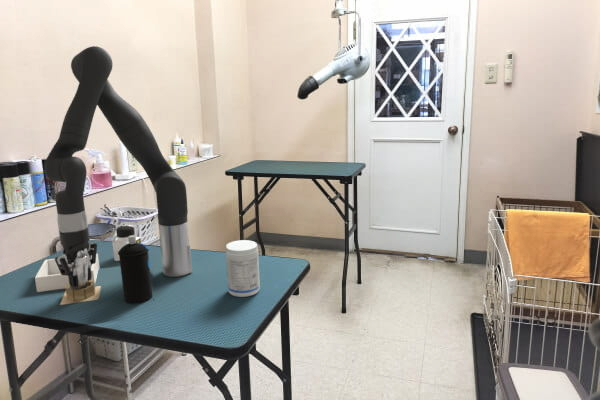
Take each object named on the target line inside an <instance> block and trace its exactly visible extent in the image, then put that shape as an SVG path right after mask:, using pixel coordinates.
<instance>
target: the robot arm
mask: <svg viewBox="0 0 600 400" xmlns="http://www.w3.org/2000/svg"><path fill="white" fill-rule="evenodd" d="M70 69H71V72H72V74H73V76H74V77H75V79H76V80H77V81H78V86H77V89H76V92H75V94H74V97H73V98H72V100H71V103H70V105H69V106H68V108H67V111H66V112H65V115H64V118H63V121H62V125H61V128H60V132H59V136H58V139H57V141H56V142H55V144H54V145H53V147H52V148H51V150H50V152H49V153H48V155H47V157H46V159H45V161H44V173H45V174H44V175H45V176H46V177H47V178H48V179H49V180H50V181H51V182H58V183H59V182H61V183H65V188H64V190H63V189H62V190H60V191H58V192H56V194H55V197H54V198H55V205H56V206H55V207H56V215H57V218H56V219H57V227H58V234H59V235H58V236H59V241H60V245H61V246H62V248H63V250H62V254H61V255H60V256H56V257H55V258H54V259H55V262H56V264H57V266H58V268H59V271H60V273H61V275H65V276H68V278H69V285H70V286H71V287H74V288H77V287H78V278H77V275H76V272H77V267H78V266H79V265H78V261H77V259H78V258H79V257H80V254H81V253H80V251H79V250H83V251H84V252H85V255H88V281H89V280H91V277H92V274H91V267H92V264H95V262H96V254H98V253H97V251H98V244H97V243H96V242H95V243H93V242H90V237H91V236H90V231H89V223H88V217H87V212H86V207H85V200H84V193H85V187H86V181H87V173H88V171H87V167H86V164H85V163H84V161H83V159H81V158H80V157H77V156H74V154H75V153H78V152H81V151H83V150H85V148H86V147H87V143H88V140H89V136H90V131H91V128H92V123H93V120H94V117H95V113H96V109H97V107H98V108H99V110H100V111H101V113H102V114H103V116H104V118H105V119H106V121H107V122H108V123H109V125H110V126H111V128H112V129H113V130H112V131H114V133H115V134H116V136H117V138H118V139H119V141H120V142H121V143H122V145H123V146H124V147H125V149H126V150H127V151H128V152H129V153H130V155H131V156H132V157H133V158H134V159H135V160H136V161H137V163H139V164H140V166H141V167H142V169H143V170H144V171H145V173H146V175H147V176H148V179H149V180H150V182H151V185H152V186H153V189H154V192H155V196H156V206H157V222H158V223H157V224H158V232H159V243H160V252H161V263H162V264H161V265H162V266H161V267H162V274H163V275H164V276H166V277H172V278H173V277H175V278H176V277H182V276H183V277H184V276H186V275H189V274H192V273H193V265H192V253H191V252H192V251H191V244H190V236H189V223H188V211H189V210H188V198H187V196H188V195H187V194H188V193H187V187H186V183H185V182H184V180H183V179H182V177H181V176H179V174H178V173H177V172H176V171H175V170H174V168H173V167H172V166H171V165H170V164H169V162H168V161H167V160H166V158H165V156H164V155H163V154H162V151H161V150H160V147H159V145H158V142H157V140H156V138H155V136H154V134H153V133H152V131H151V129H150V128H149V125H148V124H147V122H146V120H144V118H143V115H141V113H140V112H139V111H138V110H137V109H136V108H135V107H134V106H132V105H131V104H130V103H129V102H127V101H126V100H125V99H123V97H121V96H120V95H119V94H118V93H117V91H116V90H115V89H114V87H113V86H112V84H111V83H110V81H109V80H108V79H109V78H110V74H111V72H112V70H113V59H112V56H111V55H110V53H109V52H108V51H107V50H105V49H104V48H103V47H100V46H95V45H93V46H92V45H91V46H89V47H86V48H84V49H83V50H81V51H80V52H78V53H76V54H75V55H74V57H73V58H72V60H71V61H70ZM91 255H92V259H91ZM71 262H73V263H74V264H71ZM71 267H72V271H71Z"/></svg>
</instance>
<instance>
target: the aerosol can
mask: <svg viewBox="0 0 600 400" xmlns="http://www.w3.org/2000/svg"><path fill="white" fill-rule="evenodd" d="M136 237H137V236H136V234H135V235H131V236H129V237H128V240H129V243H128V244H126V245H125V246H123V247H122V248H121V249H120V250H119V252H118V255H119V258H120V261H119V264H120V265H119V266H120V274H121V283H122V289H123V298H124V299H123V300H124V302H125V303H126V304H130V305H137V304H143V303H146V302H149V301H150V300H152V298H153V302H154V301H155V299H154V297H153V287H152V279H151V278H152V276H151V270H150V269H151V268H150V258H149V257H150V255H149V251H150V249H149V247H148V246H147V245H145V244H144V243H142V242H141V243H137V242H136Z"/></svg>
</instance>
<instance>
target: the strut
mask: <svg viewBox="0 0 600 400" xmlns="http://www.w3.org/2000/svg"><path fill="white" fill-rule="evenodd" d="M79 251H80V253H81V254H80V257H79V258H78V259H77V261H78V265H79V266H78V267H77V272H76V275H77V278H78V287H77V288H74V287H71V289H73V290H77V289H84V288H86V287H88V255H85V252H84V251H83V250H79ZM71 264H74V263H73V262H71ZM71 271H72V267H71Z"/></svg>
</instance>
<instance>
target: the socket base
mask: <svg viewBox="0 0 600 400" xmlns="http://www.w3.org/2000/svg"><path fill="white" fill-rule="evenodd" d="M101 289H102V285H97V286H96V282H95V283H94V281H90V280H89V281H88V287H86V288H84V289H77V290H73V289H71V286H70V285H67V287H66V288H65V291H64V294H63V296H62V298H61V301H60V304H59V305H60V306H61V305H68V304H77V303H82V302H83V303H84V302H90V301H96V300H99V298H100V295H101Z"/></svg>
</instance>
